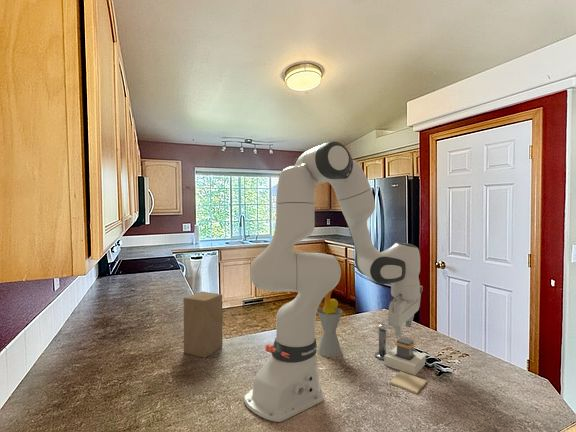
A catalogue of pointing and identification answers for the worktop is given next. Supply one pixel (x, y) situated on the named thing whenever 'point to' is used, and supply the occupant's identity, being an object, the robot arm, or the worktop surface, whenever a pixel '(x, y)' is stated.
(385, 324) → the grey metal bar
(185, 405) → the worktop surface
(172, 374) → the worktop surface
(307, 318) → the robot arm
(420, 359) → the socket
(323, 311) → the lava lamp
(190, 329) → the wooden block
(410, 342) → the plug
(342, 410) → the worktop surface
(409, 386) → the coaster
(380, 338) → the post
